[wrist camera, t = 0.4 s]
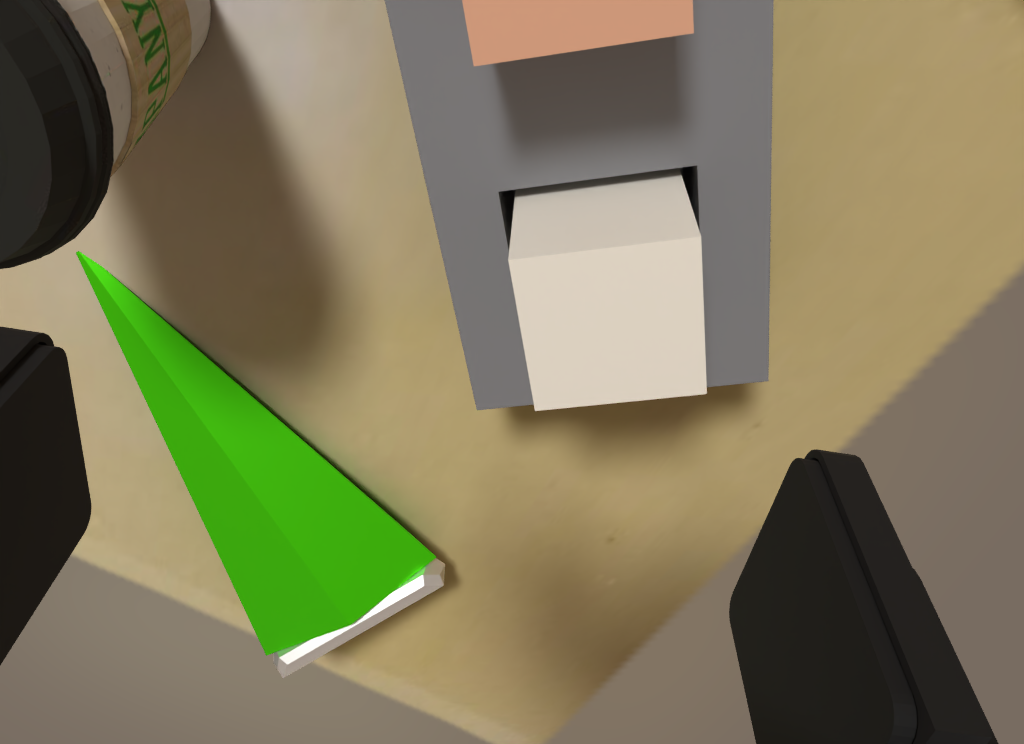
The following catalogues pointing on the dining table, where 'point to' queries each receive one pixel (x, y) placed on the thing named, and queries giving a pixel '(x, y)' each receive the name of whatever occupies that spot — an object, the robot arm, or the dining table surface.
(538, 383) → the cream key
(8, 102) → the coffee cup
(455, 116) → the key panel
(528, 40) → the terracotta key
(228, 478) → the green triangular piece
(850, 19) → the dining table surface
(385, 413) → the dining table surface
